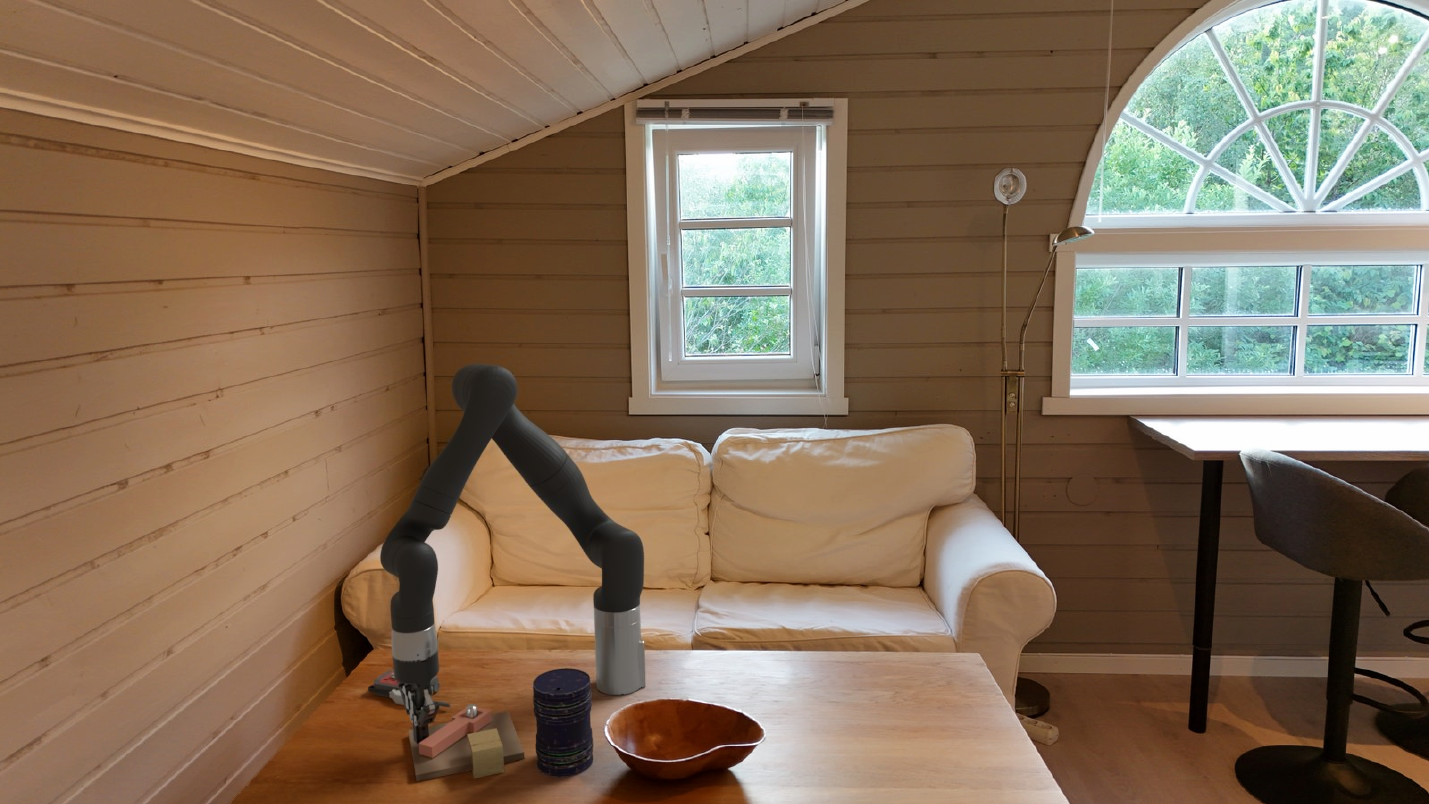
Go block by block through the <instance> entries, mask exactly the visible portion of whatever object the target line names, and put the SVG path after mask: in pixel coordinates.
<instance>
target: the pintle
mask: <svg viewBox="0 0 1429 804" xmlns="http://www.w3.org/2000/svg"><path fill="white" fill-rule="evenodd" d="M476 707H477V704H475V703H470V704H469V703H468V704H467V705H466V707H465V708H466V712H467V718H469V719H474V718H476V717H477V708H476Z"/></svg>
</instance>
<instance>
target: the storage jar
mask: <svg viewBox="0 0 1429 804" xmlns="http://www.w3.org/2000/svg"><path fill="white" fill-rule="evenodd" d="M532 689H533V693H532V694H533V696H532V703H533V704H532V705H533V713H534V717H535V723H536V725H535V726H536V733H535V755H536V766H537V768H536V769H538V771H539V772H540V773H541V774H543V775H545V776H547V777H551V778H559V779H560V778H561V779H562V778H569V777H574V776H578V775H580V774H583V773H585V772H586V771H587V770H589V769H590V768H591V767H592V765H593V763H594V754H593V753H594V738H593V728H592V726H591V711H592V706H593V704H592V703H593V702H592V690H591V677H590V674H588V673H587V672H586V671H584V670H581V669H577V668H572V667H570V668H569V667H568V668H567V667H566V668H562V667H561V668H555V669H551V670H547V671H545V672H543V673H540V674H539V675H537V676H536V677H535V678H534V680H533V682H532Z"/></svg>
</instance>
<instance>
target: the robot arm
mask: <svg viewBox="0 0 1429 804" xmlns="http://www.w3.org/2000/svg"><path fill="white" fill-rule="evenodd" d="M451 392H452V393H451V394H452V398H453V399H454V402H455V403H456V405H457V406H458V408H460V410H461V411H462V412H463V413H462V414H463V415H462V417H461V420H460V422H459V423H458V427H457V428H456V430H455V432H454V433H453V435H452V436H451V438H450V440H449V441H448V442H447V444H446V445H445V446H444V447H443V449H442V450H441V451H440V453H438V455H437V456H436V457H435V458H434V460H433V461H432V462H431V464H430V465H429V467H428V468H427V470H426V471H425V473H424V475H423V477H422V479H421V481H420V483H419V485H418V486H417V489H416V491H415V493H414V495H413V497H412V500H411V502H410V505H409V507H408V509H406V511H405V512H404V514H402V516H401V517H400V518H399V520H398V521H397V522H396V523H395V525H394V526H393V528H392V529H391V530H390V531H389V533H388V534H387V536H386V538H385V539H384V542H383V544H382V546H381V550H380V554H379V555H380V556H379V559H380V564H381V566H382V568H383V569H384V570H385V572H386V573H388V574H390V575H393V576H394V577H396V578H398V583H399V588H398V589H399V590H398V591H397V592H395V593H394V594H393V595H392V597H391V599H390V604H389V605H390V621H391V622H390V623H391V639H390V640H391V655H392V656H391V657H392V658H391V659H392V667H393V668H392V670H393V671H394V678H395V679H396V680H397V681H398V682H399V683H398V687H399V689H400V693H401V696H402V699H403V703H404V705H403V707H404V709H405V713H406V715H407V716H409V719H410V722H411V723H412V729H413V736H414V741H415V742H416V743H417V744H418V745H419V743H420V742H421V741H423V740H424V739H426V738H427V737H429V730H428V726H429V724H432V723H435V719H436V718H437V714H438V712H439V710H440V706H439V703H438V702H435V703H433V701H432V700H433V695H434V693H433V687H432V685H431V683H430V681H431V680H432V679H433V678H434V677H437V675H438V674H439V672H440V661H439V648H438V647H439V646H438V644H439V643H438V637H437V636H438V635H437V629H436V624H435V612H434V609H435V608H434V601H433V600H434V595H435V591H436V587H437V586H436V585H437V579H438V573H439V561H438V558H437V554H436V552H435V549H434V548H433V547H432V546H431V545H430V544H428V543H426V541H427V539H428V538H429V537H430V535H431V534H432V532H433V531H437V530H438V531H439V530H442V529H444V528H445V527H446V526H447V524H448V522H449V521H450V518H451V517H452V515H453V513H454V510H455V508H456V506H457V504H458V501H459V499H460V497H461V495H462V494H463V493H462V492H463V490H464V488H465V486H466V484H467V483H468V480H469V478H470V477H471V474H472V472H473V471H474V468H475V467H476V465H477V463H478V462H479V460H480V458H481V456H482V455H483V453H484V451H485V449H486V447H487V446H488V444H489V443H490V442H491V440H492V441H493V442H494V443H495V444H496V445H497V447H498V448H499V449H500V451H501V452H502V454H503V455H504V456H505V457H506V459H507V460H508V462H509V463H510V464H511V465H512V466H513V467H514V469H515V470H516V471H517V472H518V474H519V475H520V477H522V479H523V480H524V481H525V483H526V484H527V485H528V486H529V488H530V489H531V490H532V491H533V493H534V494H535V495H536V496H537V497H538V498H539V499H540V500H541V501H542V502H543V503H544V504H545V506H547V508H549V510H550V511H551V512H552V513H553V514H554V515H555V516H556V517H557V518H558V519H560V520H561V521H562V523H564V525H566V527H567V528H568V530H569V531H570V533H571V534H572V536H573V537H574V538H575V540H576V541H577V543H578V545H579V546H580V548H581V549H582V550H583V552H584V554H585V555H586V557H587V558H588V559H589V561H590V562H591V563H592V564H593V565H595V566H597V568H599V569H601V586H599V587H597V588H596V589H595V590H594V592H593V594H592V595H593V599H592V600H593V601H592V602H593V622H594V623H593V624H594V625H593V626H594V653H595V673H596V674H595V680H596V683H595V684H596V688H597V690H598V691H599V692H601V693H602V694H606V695H609V696H610V695H611V696H622V695H621V694H624V695H629V694H631V693H634V692H636V691H638V690H640V689H642V688H645V687H647V686H646V658H645V657H646V656H645V655H646V654H645V652H646V651H645V646H646V645H645V641H644V640H643V638H642V629H641V628H642V626H641V623H642V621H641V617H642V616H641V595H642V593H643V589H644V582H645V581H644V580H645V579H644V578H645V551H644V545H643V541H642V538H641V537H640V536H639V535H638V533H636V532H635V531H633V530H631V529H629V528H628V527H625V526H623V525H621V524H619V523H618V522H616V521H614V520H613V519H612V518H611V517H610V516H608V514H607V513H606V512H605V511H604V510H603V509H602V508H601V506H599V505H598V504H597V502H596V501H595V500H594V498H593V497H592V495H591V493H590V490H589V487H588V485H587V482H586V479H585V477H584V475H583V473H582V471H581V470H580V468H579V466H578V465H577V464H576V463H575V462H574V460H573V459H572V458H571V456H570V455H569V454H568V453H567V452H566V450H565V449H564V448H563V447H562V446H561V445H560V443H558V442H557V441H556V440H555V439H554V438H552V437H551V436H550V435H549V434H548V433H546V432H545V431H544V430H543V429H541V428H540V427H538V426H537V425H536V424H534V423H533V422H532V421H530V420H529V419H528V418H527V417H526V416H525V415H524V414H523V412H522V411H520V410H519V409H518V407H517V406H516V404H515V402H516V400H517V396H518V382H517V380H516V377H515V376H514V374H513V373H512V372H511V371H510V370H508V369H507V368H505V367H503V366H501V365H496V364H486V363H472V364H467V365H464V366H462V367H461V368H459V369H458V370H457V371H456V373H455V374H454V376H453V378H452V381H451ZM641 687H642V688H641ZM639 688H640V689H639Z"/></svg>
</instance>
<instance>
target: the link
mask: <svg viewBox="0 0 1429 804" xmlns="http://www.w3.org/2000/svg"><path fill="white" fill-rule="evenodd" d="M476 708H477V717H476V718H474V719H469V718H467V712H466V707H465V708H464V709H462V710H461V711H459V712H458V713H456V714H454V715H453V716H451V720H450V721H449V722H450V723H448V722H447V723H448V724H447V725H445V726H444V727H442V728H441V729H439V730H438V731H436V732H435V733H433V734H432V735H430V736H429V737H427V738H426V739H424V740H423V741H421V742H420V743H419V754H421V755H424V756H428V757H431V758H433V757H435V756H436V755H438V754H439V753H441V752H442V751H443V750H445V749H446V748H448V747H449V746H451V745H452V744H453V743H455V742H456V741H458V740H459V739H461V738H462V737H464V736H465V735H466V734H468V733H469V732H471V733H475V732H477V731H478V730H480V729H481V728H482V727H484V726H485V725H487V724H488V723H490V722H491V721H492V714H493V712H492V710H491V709H486V708H483V707H479V706H476Z"/></svg>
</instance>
